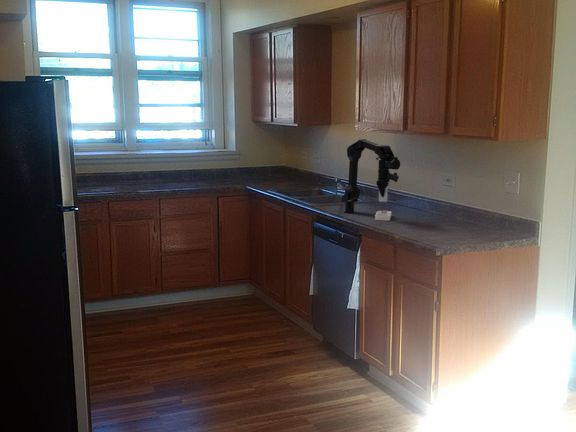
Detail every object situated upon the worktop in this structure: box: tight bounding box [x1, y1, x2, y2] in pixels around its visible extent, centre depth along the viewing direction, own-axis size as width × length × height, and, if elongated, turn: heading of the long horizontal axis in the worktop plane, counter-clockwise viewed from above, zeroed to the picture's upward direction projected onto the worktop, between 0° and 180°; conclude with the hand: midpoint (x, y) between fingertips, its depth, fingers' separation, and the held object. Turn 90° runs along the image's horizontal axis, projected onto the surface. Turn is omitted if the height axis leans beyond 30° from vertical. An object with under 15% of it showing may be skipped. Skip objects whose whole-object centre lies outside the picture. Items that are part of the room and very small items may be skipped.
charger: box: [378, 187, 389, 203], centre depth 359 cm, size 4×4×7 cm
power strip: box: [374, 209, 392, 221], centre depth 365 cm, size 16×8×3 cm, turn 168°
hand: (383, 196), depth 360 cm, fingers closed on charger, 4 cm apart
